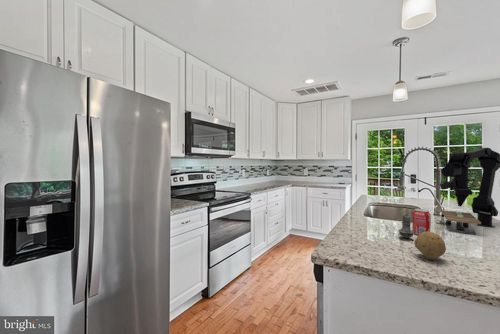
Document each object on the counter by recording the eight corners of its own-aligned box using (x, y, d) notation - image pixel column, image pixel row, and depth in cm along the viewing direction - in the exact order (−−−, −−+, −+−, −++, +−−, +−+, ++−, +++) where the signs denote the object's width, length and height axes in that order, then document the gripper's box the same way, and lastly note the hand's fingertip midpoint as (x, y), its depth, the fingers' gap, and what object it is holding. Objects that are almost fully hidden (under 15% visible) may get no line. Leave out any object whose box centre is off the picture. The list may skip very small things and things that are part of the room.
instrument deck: (441, 212, 132) (441, 207, 132) (470, 214, 125) (470, 210, 125) (447, 220, 114) (447, 215, 114) (480, 224, 107) (481, 219, 107)
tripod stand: (444, 223, 129) (444, 214, 129) (468, 226, 124) (468, 216, 123) (448, 231, 116) (449, 220, 116) (475, 234, 110) (476, 223, 110)
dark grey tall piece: (416, 241, 100) (417, 214, 100) (401, 240, 102) (402, 214, 101) (410, 237, 106) (410, 211, 106) (396, 236, 107) (396, 211, 107)
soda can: (423, 232, 114) (424, 208, 113) (433, 237, 107) (434, 211, 106) (408, 232, 114) (409, 208, 114) (417, 236, 107) (418, 211, 107)
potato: (408, 255, 86) (409, 229, 86) (422, 252, 89) (423, 226, 89) (436, 266, 78) (437, 237, 77) (450, 261, 81) (451, 233, 81)
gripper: (438, 174, 131) (437, 201, 132) (442, 176, 116) (442, 207, 116) (464, 175, 125) (463, 204, 125) (473, 177, 109) (472, 210, 110)
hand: (459, 206), depth 119 cm, fingers closed
